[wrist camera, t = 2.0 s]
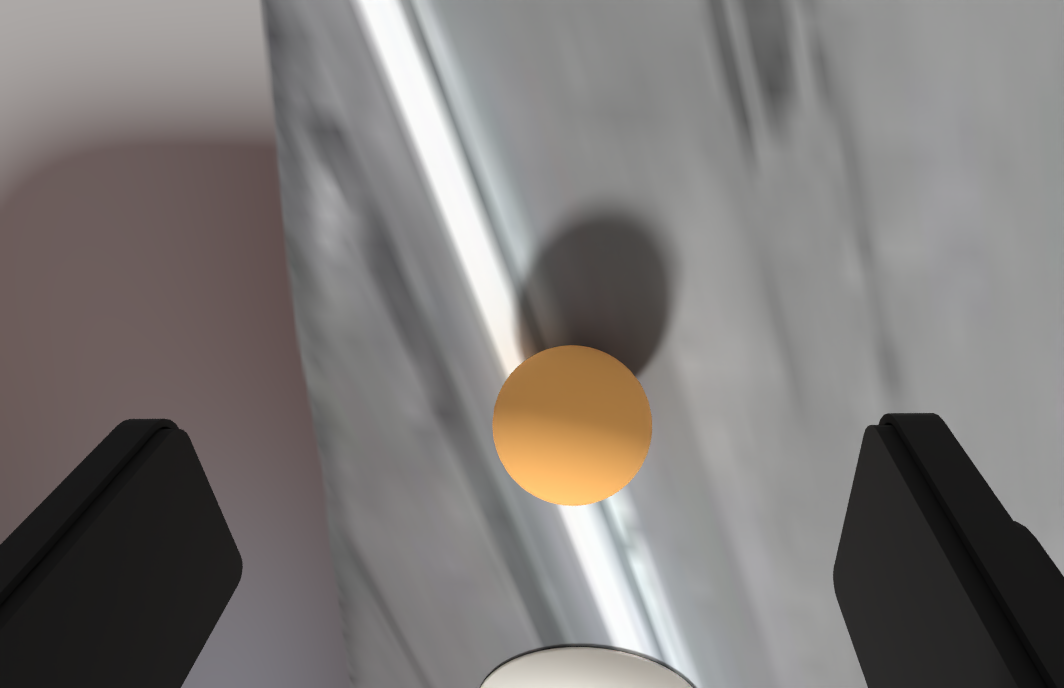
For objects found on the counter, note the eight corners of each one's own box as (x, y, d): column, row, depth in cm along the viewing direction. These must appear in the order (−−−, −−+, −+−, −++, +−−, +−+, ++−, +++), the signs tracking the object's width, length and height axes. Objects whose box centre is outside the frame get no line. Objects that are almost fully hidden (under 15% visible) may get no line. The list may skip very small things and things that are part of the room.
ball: (496, 317, 27) (471, 408, 22) (649, 315, 26) (660, 408, 21) (509, 435, 30) (490, 539, 25) (646, 435, 29) (654, 542, 24)
